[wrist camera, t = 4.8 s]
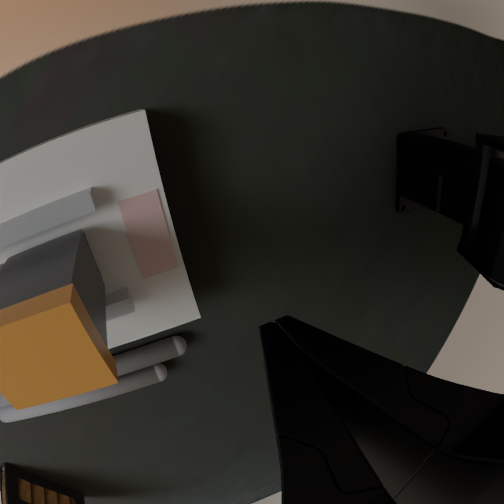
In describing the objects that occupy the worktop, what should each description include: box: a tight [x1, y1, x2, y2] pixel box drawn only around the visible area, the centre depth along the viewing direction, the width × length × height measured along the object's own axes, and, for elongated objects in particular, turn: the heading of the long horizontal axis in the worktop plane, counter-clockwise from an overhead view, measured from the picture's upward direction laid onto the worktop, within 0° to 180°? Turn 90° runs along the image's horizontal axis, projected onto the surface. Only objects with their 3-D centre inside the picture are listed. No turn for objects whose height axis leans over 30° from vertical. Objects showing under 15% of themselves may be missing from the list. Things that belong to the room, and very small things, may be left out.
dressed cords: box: [0, 336, 187, 423], centre depth 19 cm, size 17×3×1 cm, turn 99°
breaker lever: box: [0, 229, 119, 410], centre depth 10 cm, size 4×3×6 cm
